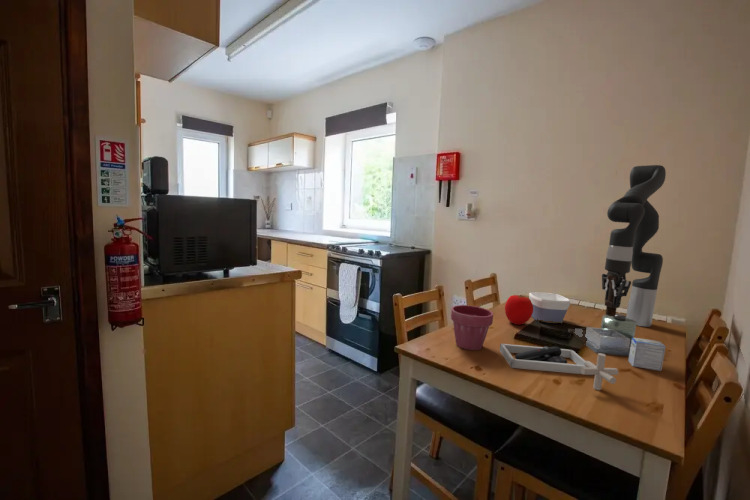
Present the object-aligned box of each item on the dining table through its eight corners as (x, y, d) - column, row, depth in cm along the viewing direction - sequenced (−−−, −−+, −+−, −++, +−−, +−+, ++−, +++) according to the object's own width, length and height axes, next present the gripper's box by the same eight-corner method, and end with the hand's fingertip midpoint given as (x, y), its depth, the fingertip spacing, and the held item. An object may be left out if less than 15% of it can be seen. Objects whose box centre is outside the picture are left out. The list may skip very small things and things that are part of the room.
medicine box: (655, 366, 115) (659, 341, 114) (661, 371, 111) (666, 345, 110) (627, 361, 118) (631, 336, 117) (632, 366, 114) (636, 341, 113)
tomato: (497, 320, 154) (500, 292, 152) (515, 318, 159) (518, 290, 157) (517, 329, 144) (521, 299, 142) (536, 326, 149) (539, 297, 147)
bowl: (572, 326, 151) (575, 302, 150) (536, 324, 152) (539, 299, 150) (554, 315, 167) (557, 293, 165) (522, 313, 167) (525, 291, 165)
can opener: (553, 358, 117) (555, 342, 116) (569, 368, 110) (571, 351, 110) (506, 360, 113) (508, 344, 112) (520, 371, 106) (522, 353, 105)
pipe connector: (568, 379, 102) (573, 346, 101) (600, 379, 103) (605, 347, 102) (592, 398, 92) (598, 362, 91) (627, 398, 93) (633, 363, 92)
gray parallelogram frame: (499, 350, 120) (500, 343, 120) (571, 356, 119) (572, 349, 118) (511, 367, 107) (511, 359, 107) (591, 375, 106) (592, 367, 105)
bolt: (614, 314, 130) (620, 274, 128) (622, 318, 125) (629, 277, 123) (598, 312, 131) (603, 273, 129) (605, 316, 126) (611, 276, 124)
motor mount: (567, 331, 145) (570, 307, 144) (622, 335, 143) (626, 312, 142) (596, 353, 123) (600, 325, 122) (661, 358, 122) (666, 331, 120)
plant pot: (466, 335, 133) (469, 302, 132) (498, 348, 122) (502, 313, 120) (440, 341, 125) (443, 307, 123) (471, 356, 114) (475, 319, 112)
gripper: (643, 262, 118) (635, 311, 120) (617, 256, 132) (611, 300, 134) (620, 260, 119) (612, 309, 121) (597, 255, 133) (590, 298, 135)
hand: (611, 304), depth 128 cm, fingers closed on bolt, 4 cm apart
